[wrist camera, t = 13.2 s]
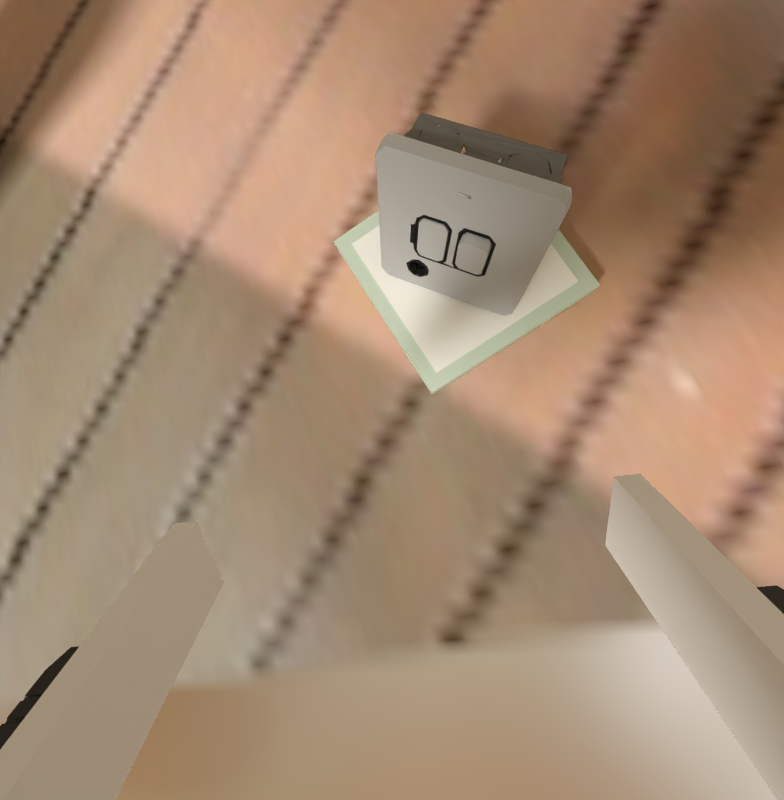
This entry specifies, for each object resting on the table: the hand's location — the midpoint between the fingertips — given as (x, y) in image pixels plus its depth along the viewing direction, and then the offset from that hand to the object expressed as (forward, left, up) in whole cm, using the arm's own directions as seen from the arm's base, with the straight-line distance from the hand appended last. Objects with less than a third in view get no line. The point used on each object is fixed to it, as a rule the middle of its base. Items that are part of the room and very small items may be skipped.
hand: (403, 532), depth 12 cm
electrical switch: (-11, +10, -13) cm, 20 cm away
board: (-11, +10, -15) cm, 21 cm away
